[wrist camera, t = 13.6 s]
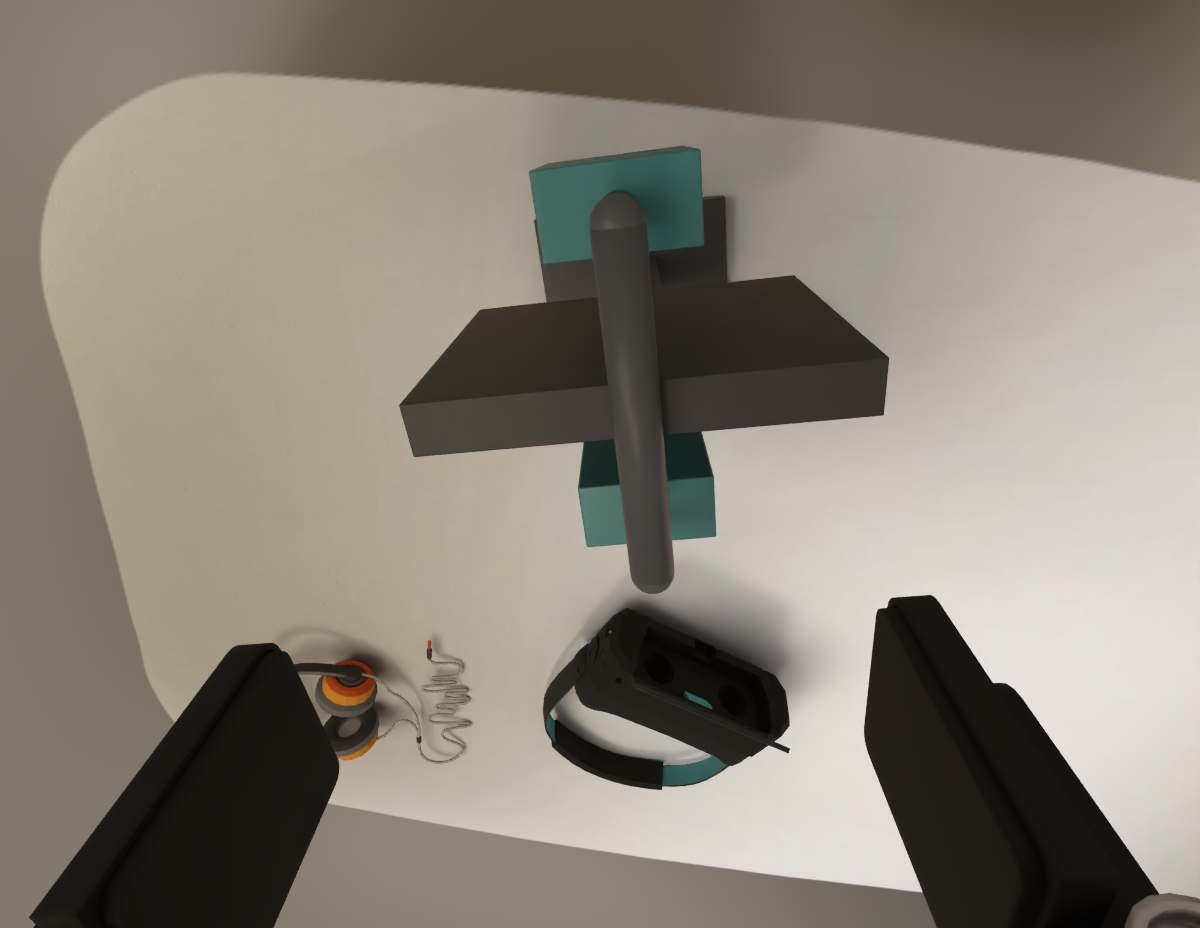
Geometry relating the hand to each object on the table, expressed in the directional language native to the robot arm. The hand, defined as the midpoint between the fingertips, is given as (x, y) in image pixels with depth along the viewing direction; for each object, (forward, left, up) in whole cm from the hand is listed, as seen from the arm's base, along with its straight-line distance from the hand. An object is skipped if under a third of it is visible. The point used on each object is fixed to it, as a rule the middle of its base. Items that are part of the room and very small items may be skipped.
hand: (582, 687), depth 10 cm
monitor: (0, +1, -36) cm, 36 cm away
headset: (0, +1, -21) cm, 21 cm away
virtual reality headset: (+39, -1, -36) cm, 54 cm away
